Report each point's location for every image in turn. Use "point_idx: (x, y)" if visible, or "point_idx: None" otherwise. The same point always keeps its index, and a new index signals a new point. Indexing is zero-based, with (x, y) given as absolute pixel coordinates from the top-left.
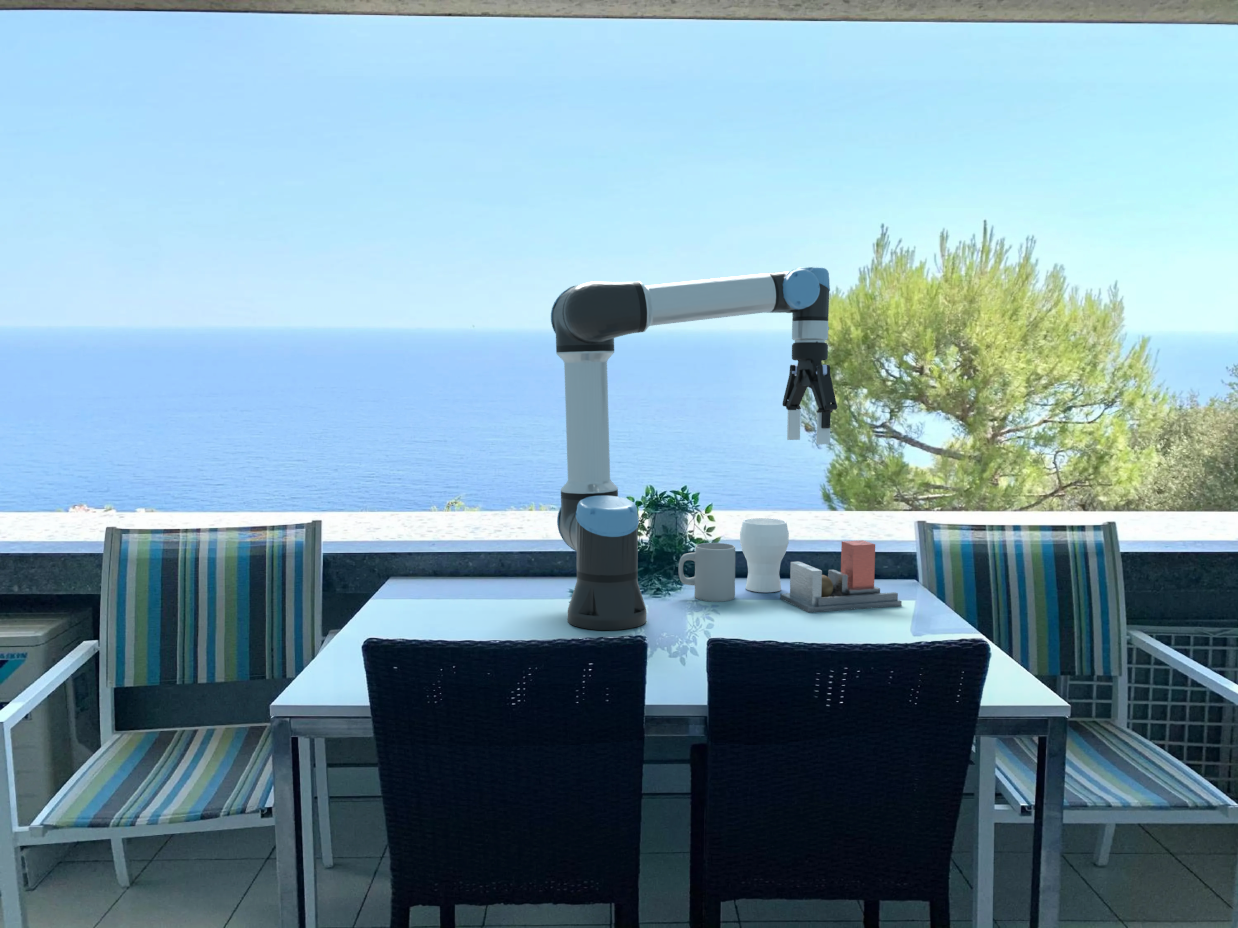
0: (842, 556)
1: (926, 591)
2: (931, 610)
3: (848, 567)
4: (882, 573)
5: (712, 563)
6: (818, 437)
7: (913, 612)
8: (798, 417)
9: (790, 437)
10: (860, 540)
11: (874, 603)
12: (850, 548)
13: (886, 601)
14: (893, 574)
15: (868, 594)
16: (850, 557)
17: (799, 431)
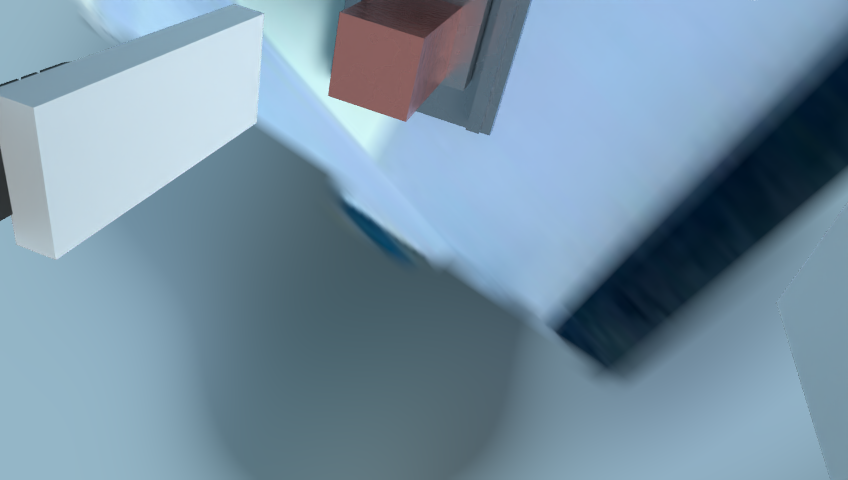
0: (431, 24)
1: (426, 250)
2: (277, 102)
3: (400, 5)
4: (638, 338)
5: None
6: (198, 21)
7: (276, 49)
8: (846, 462)
9: (842, 230)
10: (406, 111)
11: (346, 3)
12: (366, 15)
13: None
14: (611, 346)
15: (355, 3)
16: (376, 8)
17: (796, 350)
